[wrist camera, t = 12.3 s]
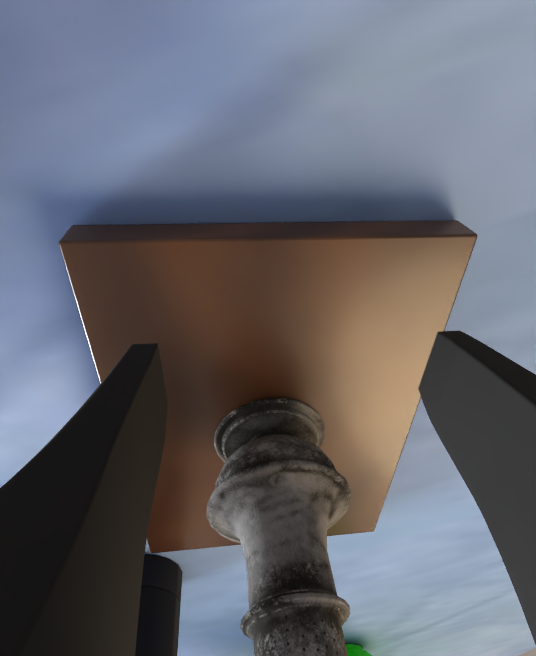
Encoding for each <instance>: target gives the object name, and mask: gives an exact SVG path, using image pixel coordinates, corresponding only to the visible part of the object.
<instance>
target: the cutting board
mask: <svg viewBox="0 0 536 656" xmlns="http://www.w3.org/2000/svg"><path fill="white" fill-rule="evenodd" d="M476 239H477V234H476V233H474V232H473V231H472V230H470V229H469V228H467V227H466V226H464V225H463V224H462V223H460V222H459V221H457V220H445V221H369V222H293V223H217V224H141V225H73V226H71V228H70V229H69V230H68V231H67V232H66V234H65V235H64V236H63V237H62V239H61V240H60V241H59V246H60V249H61V253H62V256H63V259H64V263H65V266H66V269H67V273H68V276H69V279H70V283H71V286H72V289H73V293H74V296H75V300H76V303H77V306H78V310H79V313H80V316H81V320H82V323H83V326H84V330H85V333H86V336H87V340H88V343H89V346H90V350H91V353H92V357H93V360H94V363H95V367H96V370H97V373H98V377H99V380H100V383H102V382H103V380H104V379H105V378H106V377H107V375H108V374H109V373H110V372H111V370H112V369H113V368H114V366H115V365H116V364H117V363H118V361H119V360H120V359H121V357H122V356H123V355H124V353H125V352H126V351H127V349H128V348H129V347H130V346H131V345H132V344H151V343H158V347H159V353H160V359H161V365H162V371H163V377H164V383H165V389H166V395H167V401H168V407H167V422H166V435H165V443H164V449H163V454H162V459H161V464H160V470H159V475H158V480H157V485H156V490H155V495H154V500H153V505H152V510H151V516H150V521H149V526H148V532H147V541H148V544H149V548H150V551H151V553H159V552H169V551H179V550H190V549H200V548H210V547H220V546H230V545H241V543H238V542H234V541H231V540H229V539H227V538H225V537H223V536H221V535H220V534H219V533H218V532H217V531H216V530H214V529H213V528H212V527H211V525H210V523H209V521H208V519H207V502H208V500H209V499H210V497H211V495H212V493H213V491H214V490H215V483H216V481H217V479H218V477H219V474H220V472H221V470H222V468H223V466H224V464H225V462H224V461H223V460H222V459H221V458H220V457H219V455H218V454H217V452H216V449H215V446H214V438H215V432H216V430H217V427H218V425H219V423H220V422H221V421H222V420H223V419H224V418H225V417H226V416H227V415H228V414H229V413H230V412H232V411H233V410H235V409H237V408H238V407H240V406H242V405H245V404H247V403H250V402H252V401H256V400H262V399H267V398H287V399H291V400H296V401H300V402H302V403H304V404H306V405H308V406H311V407H312V408H313V409H314V410H315V411H316V412H317V413H318V414H319V415H320V417H321V419H322V420H323V422H324V426H325V437H324V440H323V443H322V445H321V446H320V449H321V450H322V451H323V452H324V453H325V454H326V455H327V457H328V458H329V459H330V460H331V461H332V463H333V464H334V466H335V468H336V470H337V472H339V473H340V474H341V475H342V476H344V477H345V479H346V480H347V482H348V484H349V486H350V488H351V502H350V505H349V507H348V510H347V512H346V513H345V514H344V515H343V517H342V518H341V519H340V520H339V521H338V522H337V523H336V524H334V525H333V526H331V527H330V528H329V529H327V536H332V535H343V534H353V533H363V532H373V531H374V530H375V527H376V524H377V521H378V518H379V515H380V512H381V510H382V507H383V504H384V501H385V498H386V495H387V493H388V490H389V487H390V484H391V481H392V478H393V475H394V473H395V470H396V467H397V464H398V461H399V458H400V455H401V453H402V450H403V447H404V444H405V441H406V438H407V436H408V433H409V430H410V427H411V424H412V421H413V418H414V416H415V413H416V410H417V407H418V404H419V401H420V399H421V395H420V392H419V390H418V388H419V385H420V382H421V379H422V376H423V373H424V370H425V367H426V364H427V361H428V358H429V356H430V353H431V350H432V347H433V344H434V341H435V338H436V335H437V332H443V331H444V330H445V327H446V324H447V322H448V319H449V316H450V313H451V310H452V307H453V304H454V302H455V299H456V296H457V293H458V290H459V287H460V285H461V282H462V279H463V276H464V273H465V270H466V267H467V265H468V262H469V259H470V256H471V253H472V250H473V247H474V245H475V242H476Z"/></svg>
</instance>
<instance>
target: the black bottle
mask: <svg viewBox="0 0 536 656" xmlns="http://www.w3.org/2000/svg"><path fill="white" fill-rule="evenodd" d="M181 586H182V571H181V569H180V568H179V566H178V565H177V564H175V563H174V562H172V561H171V560H168V559H165V558H162V557H159V556H152V555H144V563H143V573H142V583H141V593H140V604H139V615H138V626H137V638H136V650H135V656H177V650H178V634H179V618H180V601H181Z"/></svg>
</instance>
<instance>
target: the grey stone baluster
mask: <svg viewBox="0 0 536 656" xmlns="http://www.w3.org/2000/svg"><path fill="white" fill-rule="evenodd" d="M324 437H325V426H324V422H323V420H322V419H321V417H320V415H319V414H318V413H317V412H316V411H315V410H314V409H313V408H312V407H311V406H308V405H306V404H304V403H302V402H300V401H296V400H291V399H287V398H267V399H262V400H256V401H252V402H250V403H247V404H245V405H242V406H240V407H238V408H237V409H235V410H233V411H232V412H230V413H229V414H228V415H227V416H226V417H225V418H224V419H223V420H222V421H221V422H220V423H219V425H218V427H217V430H216V432H215V438H214V446H215V449H216V452H217V454H218V455H219V457H220V458H221V459H222V460H223V461H224V462H225V464H224V466H223V468H222V470H221V472H220V474H219V477H218V479H217V481H216V483H215V490H214V491H213V493H212V495H211V497H210V499H209V500H208V502H207V519H208V521H209V523H210V525H211V527H212V528H213V529H214V530H216V531H217V532H218V533H219V534H220V535H221V536H223V537H225V538H227V539H229V540H231V541H234V542H238V543H241V545H242V548H243V551H244V555H245V559H246V564H247V581H248V597H249V611H248V612H247V613H246V614H245V615H244V617H243V618H242V620H241V630H242V632H243V633H244V634H245V635H246V636H248V637H249V638H251V639H252V640H254V654H255V656H348V654H347V649H346V645H345V640H344V636H343V631H342V625H343V624H344V623H345V622H346V621H347V619H348V617H349V615H350V607H349V605H348V603H347V602H346V601H345V600H344V599H342V598H340V597H338V596H337V593H336V588H335V584H334V579H333V575H332V571H331V566H330V562H329V557H328V553H327V529H329V528H330V527H331V526H333V525H334V524H336V523H337V522H338V521H339V520H340V519H341V518H342V517H343V515H344V514H345V513H346V512H347V510H348V507H349V505H350V502H351V488H350V486H349V484H348V482H347V480H346V479H345V477H344V476H342V475H341V474H340V473H339V472H337V470H336V468H335V466H334V464H333V463H332V461H331V460H330V459H329V458H328V457H327V455H326V454H325V453H324V452H323V451H322V450H321V449H320V446H321V445H322V443H323V440H324Z"/></svg>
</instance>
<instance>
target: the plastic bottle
mask: <svg viewBox="0 0 536 656" xmlns="http://www.w3.org/2000/svg"><path fill="white" fill-rule="evenodd" d="M346 649H347V654H348V656H372V655H370V654H369V653H368V652H367V651H365V650H363V649H362V648H361V646H360V645H353V644H346Z"/></svg>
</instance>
